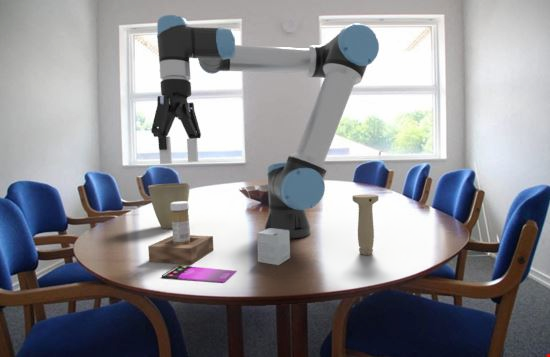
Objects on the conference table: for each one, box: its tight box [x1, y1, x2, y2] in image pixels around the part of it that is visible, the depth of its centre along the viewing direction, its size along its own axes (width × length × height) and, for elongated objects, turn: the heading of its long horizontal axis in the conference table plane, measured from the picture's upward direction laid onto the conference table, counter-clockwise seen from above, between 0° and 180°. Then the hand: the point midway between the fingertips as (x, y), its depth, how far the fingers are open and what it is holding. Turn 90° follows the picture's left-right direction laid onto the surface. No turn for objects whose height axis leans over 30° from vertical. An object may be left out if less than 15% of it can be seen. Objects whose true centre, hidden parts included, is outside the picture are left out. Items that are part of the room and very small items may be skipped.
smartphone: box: [161, 264, 237, 284], centre depth 74 cm, size 7×15×1 cm, turn 74°
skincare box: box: [256, 228, 291, 266], centre depth 82 cm, size 6×6×7 cm
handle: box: [352, 193, 379, 256], centre depth 84 cm, size 5×6×15 cm
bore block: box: [148, 234, 214, 266], centre depth 88 cm, size 12×12×4 cm
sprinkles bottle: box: [170, 201, 191, 245], centre depth 87 cm, size 5×5×14 cm
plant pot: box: [147, 182, 191, 230], centre depth 125 cm, size 15×15×16 cm
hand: (180, 162), depth 87 cm, fingers open, 13 cm apart
